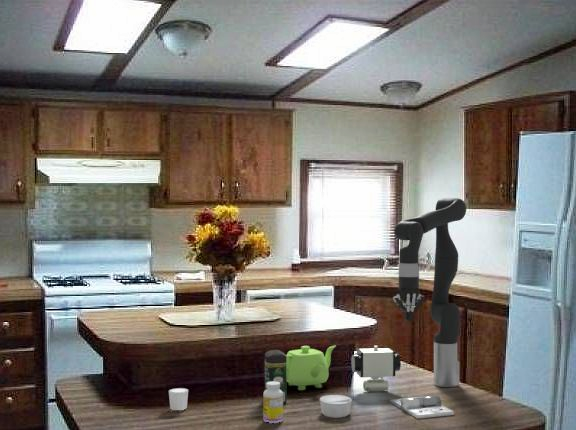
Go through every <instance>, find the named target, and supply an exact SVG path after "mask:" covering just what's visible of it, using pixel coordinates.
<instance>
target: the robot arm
mask: <svg viewBox="0 0 576 430" xmlns="http://www.w3.org/2000/svg"><path fill="white" fill-rule="evenodd" d="M466 214H467V204H466V202H465V201H464V200H463V199H461V198H457V197H456V198H455V197H442V198H441V197H440V198H439V199H438V200H437V202H436V204H435V210H431V211H427V212H424V213H421V214H420V215H418V216H416V217H412V218H409V219H405V220H401V221H399V222H398V223H397V224H396V225H395V228H394V236H395V237H396V238H397V239H398V240H401V241H408V242H409V243H408V244H407V246H402V247H400V249H399V252H398V254H399V258H398V259H399V260H398V262H399V264H398V265H399V266H398V291H397V294H396V295H395V296H392V300H393V302H394V303H395V304H396V306H397V307H398V308H399V310H402V311H403V312H404V320H405V322H408V323H411V322H412V321H413V320H414V311H417V310H418V309H419V308H420V307H421V306H422V304H423V302H424V300H425V299H426V296H424V295H422V294H421V293H420V292H421V291H420V267H419V251H420V249H421V248H420V247H421V244H422V239H423V236H424V234H427V233H429V232H431V231H433V230H434V229H435V231H436V233H435V252H434V275H433V289H432V295H431V303H430V310H429V312H430V313H429V314H430V319H431V320H432V321H433V323H436V324H438V325H439V326H440V327H439V332H437V333H435V334H434V336H433V384H434V385H435V386H436V387H439V388H440V387H443V388H454V387H457V386H460V361H459V360H458V339H459V336H460V330H461V328H460V327H461V311H460V309H459V307H458V306H457V304H455V303H452V302H449V294H450V293H449V292H450V288H451V285H452V283H453V281H454V279H455V277H456V275H457V272H458V267H459V266H458V265H459V252H458V249H457V247H456V246H455V243H454V241H453V239H452V238H451V236H450V232H449V223H452V222H457V221H461V220H462V219H464V217H465V216H466ZM401 301H402V302H401Z"/></svg>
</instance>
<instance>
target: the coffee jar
mask: <svg viewBox="0 0 576 430" xmlns="http://www.w3.org/2000/svg"><path fill="white" fill-rule="evenodd" d="M286 355H287V354H286V353H285V352H284V351H281V350H280V349H271V350H270V349H269V350H268V351H266V352H265V353H264V391H265V390H267V387H266V383H267V382H271V381H276V382H280V390H281V391H282V392H283V404H284V403H287V400H288V392H287V391H288V390H287V383H288V382H287V373H286V368H287V358H286V357H287V356H286Z"/></svg>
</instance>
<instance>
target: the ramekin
mask: <svg viewBox="0 0 576 430" xmlns="http://www.w3.org/2000/svg"><path fill="white" fill-rule="evenodd" d="M352 402H353V400H352V398H351V397H349V396H347V395H342V394H329V395H323V396H321V397H320V398H319V403H320V408H321V409H320V410H321V413H322V415H323V416H324V417H328V418H334V419H335V418H336V419H340V418H345V417H347V416H348V415H349V414H350V413H351V408H352V407H351V406H352Z"/></svg>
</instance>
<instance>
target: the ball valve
mask: <svg viewBox="0 0 576 430" xmlns="http://www.w3.org/2000/svg"><path fill="white" fill-rule="evenodd" d="M401 363H402V362H401V356H400V354H399V352H398V353H397V352H396V351H395V350H393V349H392V348H390V347H389V348H386V347H385V348H379V345H373V348H356V352H355V354H352V355H351V370H352V372H353V373H356V374H357V375H358V376H359V377H360V378H369V379H367V380H363V383H362V387H363V391H364V392H368V393H374V392H376V393H377V392H378V393H382V392H386V391H388V390H389V381H388V380H386V379H384V378H386V377H387V378H389V377H393V378H394V377H396V373H397V372H399V371H400V370H401V367H402V366H401V365H402V364H401Z"/></svg>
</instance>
